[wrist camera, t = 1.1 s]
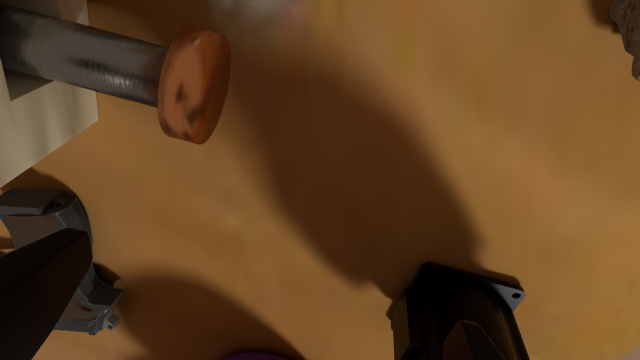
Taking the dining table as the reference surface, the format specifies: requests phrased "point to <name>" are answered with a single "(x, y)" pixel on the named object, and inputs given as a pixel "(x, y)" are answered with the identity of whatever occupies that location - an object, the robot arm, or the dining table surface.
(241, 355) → the mug
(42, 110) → the block
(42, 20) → the pin
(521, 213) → the dining table surface
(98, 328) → the handgun
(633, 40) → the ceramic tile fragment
